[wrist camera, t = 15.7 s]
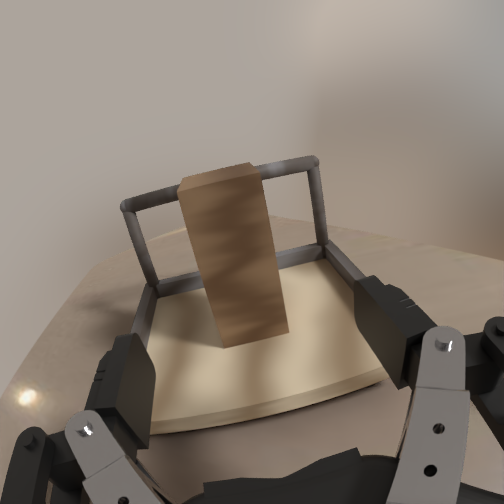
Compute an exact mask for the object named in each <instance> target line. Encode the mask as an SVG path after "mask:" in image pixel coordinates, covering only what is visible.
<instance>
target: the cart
mask: <svg viewBox="0 0 504 504" xmlns="http://www.w3.org/2000/svg"><path fill="white" fill-rule="evenodd" d="M254 167H255V168H256V169H257V170H258V171H259V172H260V175H261V180H265V179H270V178H274V177H279V176H284V175H289V174H294V173H299V172H304V171H307V174H308V181H309V187H310V194H311V201H312V207H313V215H314V223H315V231H316V239H317V243H314V244H309V245H305V246H301V247H297V248H293V249H289V250H285V251H281V252H276V253H275V254H276V259H277V265H278V270H279V276H280V281H281V287H282V293H283V298H284V304H285V310H286V315H287V321H288V327H289V333H287V334H283V335H279V336H275V337H272V338H268V339H264V340H259V341H255V342H251V343H247V344H243V345H238V346H234V347H230V348H225V349H224V346H223V343H222V340H221V337H220V334H219V331H218V328H217V325H216V322H215V319H214V316H213V313H212V310H211V307H210V304H209V301H208V297H207V294H206V291H205V288H204V285H203V281H202V278H201V275H200V272H199V271H197V272H193V273H189V274H184V275H180V276H176V277H172V278H167V279H163V280H159V281H158V278H157V275H156V272H155V270H154V267H153V264H152V261H151V258H150V255H149V253H148V250H147V247H146V244H145V241H144V238H143V235H142V232H141V229H140V226H139V222H138V219H137V216H136V213H135V212H137V211H140V210H144V209H147V208H151V207H154V206H158V205H162V204H165V203H169V202H173V201H177V200H179V199H178V195H177V190H178V188H179V186H180V184H179V185H175V186H171V187H167V188H164V189H160V190H157V191H153V192H149V193H146V194H142V195H139V196H136V197H132V198H129V199H125V200H124V201H122V202H121V204H120V210H121V211H122V213H123V215H124V219H125V221H126V225H127V228H128V231H129V234H130V237H131V240H132V243H133V245H134V248H135V251H136V254H137V257H138V259H139V262H140V265H141V268H142V270H143V273H144V276H145V278H146V281H147V283H146V284H145V287H144V290H143V293H142V297H141V300H140V303H139V306H138V309H137V313H136V316H135V319H134V322H133V326H132V329H131V333H137V334H138V335H139V337H140V339H141V341H142V343H143V345H144V347H145V349H146V350H147V352H148V354H149V356H150V358H151V360H152V362H153V364H154V367H155V372H156V383H155V391H154V399H153V408H152V417H151V427H150V435H151V434H162V433H176V432H180V431H187V430H195V429H201V428H208V427H214V426H220V425H226V424H231V423H236V422H241V421H246V420H251V419H256V418H260V417H265V416H269V415H273V414H277V413H281V412H285V411H289V410H293V409H297V408H300V407H304V406H307V405H311V404H314V403H318V402H321V401H324V400H328V399H331V398H334V397H337V396H340V395H343V394H346V393H349V392H352V391H355V390H358V389H361V388H363V387H366V386H370V385H373V384H375V383H377V382H380V381H382V380H385V379H387V378H390V377H389V375H388V373H387V372H386V370H385V369H384V367H383V366H382V364H381V363H380V361H379V360H378V358H377V357H376V355H375V354H374V352H373V351H372V349H371V348H370V346H369V345H368V343H367V342H366V340H365V339H364V337H363V336H362V334H361V333H360V331H359V330H358V328H357V325H356V322H355V317H354V288H353V285H354V281H355V280H358V279H362V278H365V277H366V276H365V275H364V274H363V273H362V272H361V271H360V270H359V269H358V268H357V267H356V266H355V265H354V264H353V263H352V262H351V261H350V260H349V258H348V257H347V256H346V255H345V254H344V253H343V252H342V251H341V250H340V249H339V248H338V247H337V246H336V245H335V244H334V243H333V242H332V241H331V240H328V233H327V225H326V217H325V209H324V200H323V192H322V186H321V178H320V171H319V160H318V158H317V157H315V156H305V157H300V158H294V159H289V160H284V161H279V162H274V163H269V164H264V165H259V166H254Z"/></svg>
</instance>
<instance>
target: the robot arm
mask: <svg viewBox="0 0 504 504" xmlns="http://www.w3.org/2000/svg"><path fill="white" fill-rule="evenodd" d="M353 288H354V317H355V322H356V325H357V328H358V330H359V331H360V333H361V334H362V336H363V337H364V339H365V340H366V342H367V343H368V345H369V346H370V348H371V349H372V351H373V352H374V354H375V355H376V357H377V358H378V360H379V361H380V363H381V364H382V366H383V367H384V369H385V370H386V372H387V373H388V375H389V377H390V378H391V380H392V381H393V383H394V384H395V386H396V387H397V389H398V390H399V389H402V388H404V387H406V386H408V385H409V387H410V388H411V390H412V392H411V396H410V401H409V406H408V410H407V415H406V419H405V423H404V427H403V431H402V435H401V439H400V442H399V445H398V449H397V452H396V455H395V457H390V456H384V455H363V456H360V453H359V451H358V449H357V447H356V448H353V449H350V450H347V451H345V452H342V453H339V454H335V455H332V456H329V457H326V458H323V459H320V460H318V461H316V462H314V463H312V464H310V465H308V466H307V467H305V468H303V469H301V470H299V471H297V472H295V473H293V474H291V475H289V476H286V477H284V478H236V479H229V480H222V481H215V482H207V483H203V484H204V493H201V494H198V495H196V496H194V497H192V498H190V499H189V500H187V501H185V502H184V503H183V504H504V495H501V494H497V493H493V492H490V491H487V490H483V489H480V488H477V487H474V486H471V485H468V484H465V483H462V482H460V481H461V476H462V470H463V464H464V457H465V450H466V442H467V433H468V422H469V408H470V399H471V401H472V402H473V404H474V405H475V406H476V408H477V409H478V411H479V412H480V414H481V416H482V417H483V419H484V420H485V422H486V423H487V425H488V426H489V428H490V429H491V431H492V433H493V434H494V436H495V437H496V439H497V441H498V442H499V444H500V445H501V447H502V449H503V450H504V378H503V377H504V317H493V318H491V319H489V320H488V321H487V322H486V324H485V326H484V330H483V332H481V333H475V334H470V335H462V334H461V333H460V332H459V331H458V330H456V329H454V328H452V327H448V326H437V325H436V324H435V323H434V322H433V321H432V320H431V319H430V318H429V317H428V315H427V314H426V313H425V312H424V311H423V310H422V309H421V308H420V307H419V306H418V305H416V304H415V302H414V301H413V300H412V299H409V296H407V295H406V294H405V293H404V292H403V291H402V290H401V289H399V288H397V287H395V286H393V285H390V284H388V285H384V284H383V283H382V282H381V281H380V280H379V279H378V278H377V277H376V276H374V275H372V276H369V277H365V278H362V279H358V280H355V281H354V285H353ZM96 372H97V373H96V374H95V377H94V382H93V383H92V386H91V389H90V393H89V396H88V399H87V402H86V406H85V409H84V411H81V412H79V413H77V414H75V415H74V416H73V417H71V418H70V420H69V421H68V423H67V424H66V427H65V430H64V431H61V432H58V433H55V434H51V435H47V434H46V433H45V432H44V431H43V430H42V429H41V428H39V427H30V428H27V429H26V430H24V431H23V432H22V433H21V434H20V435H19V437H18V438H17V441H16V444H15V447H14V450H13V454H12V457H11V461H10V464H9V468H8V472H7V475H6V479H5V483H4V488H3V492H2V496H1V501H0V504H46V502H45V498H46V491H47V486H48V480H49V481H50V482H51V483H53V488H52V495H51V501H50V504H89V502H90V499H91V501H92V502H93V504H177V503H176V502H175V501H174V500H173V499H172V498H171V497H170V496H169V495H168V494H167V493H166V492H165V491H164V490H163V488H162V487H161V486H160V485H159V484H158V483H157V481H156V480H155V479H154V478H153V477H152V476H151V474H150V473H149V472H148V471H147V469H146V468H145V467H144V466H143V465H142V463H141V462H140V461H139V460H138V459H137V458H136V455H137V449H149V438H150V427H151V417H152V408H153V399H154V391H155V383H156V372H155V367H154V364H153V362H152V360H151V358H150V356H149V354H148V352H147V350H146V349H145V347H144V345H143V343H142V341H141V339H140V337H139V335H138V334H137V333H130V334H125V335H120V336H117V337H116V339H115V342H114V345H113V348H112V351H107V353H106V354H105V355H104V356H103V358H102V359H101V360H100V362H99V365H98V368H97V371H96Z"/></svg>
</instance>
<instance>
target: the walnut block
mask: <svg viewBox="0 0 504 504" xmlns="http://www.w3.org/2000/svg"><path fill="white" fill-rule="evenodd" d="M177 195H178V199H179V202H180V206H181V210H182V213H183V217H184V220H185V224H186V228H187V231H188V235H189V238H190V241H191V245H192V248H193V252H194V255H195V258H196V262H197V265H198V268H199V272H200V275H201V278H202V281H203V285H204V288H205V291H206V294H207V297H208V301H209V304H210V307H211V310H212V313H213V316H214V319H215V322H216V325H217V328H218V331H219V334H220V337H221V340H222V343H223V346H224V349H225V348H230V347H234V346H238V345H243V344H247V343H251V342H255V341H259V340H264V339H268V338H272V337H275V336H279V335H283V334H287V333H289V327H288V321H287V315H286V310H285V304H284V298H283V293H282V287H281V281H280V276H279V270H278V265H277V259H276V254H275V248H274V243H273V237H272V232H271V227H270V221H269V216H268V211H267V206H266V200H265V196H264V190H263V185H262V180H261V175H260V172H259V171H258V170H257V169H256V168H255V167H254V166H253V165H251V164H250V163H249V162H248V163H244V164H239V165H235V166H230V167H226V168H221V169H217V170H213V171H209V172H205V173H201V174H197V175H193V176H189V177H185V178H183V179H182V181H181V183H180V186H179V188H178V190H177Z"/></svg>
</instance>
